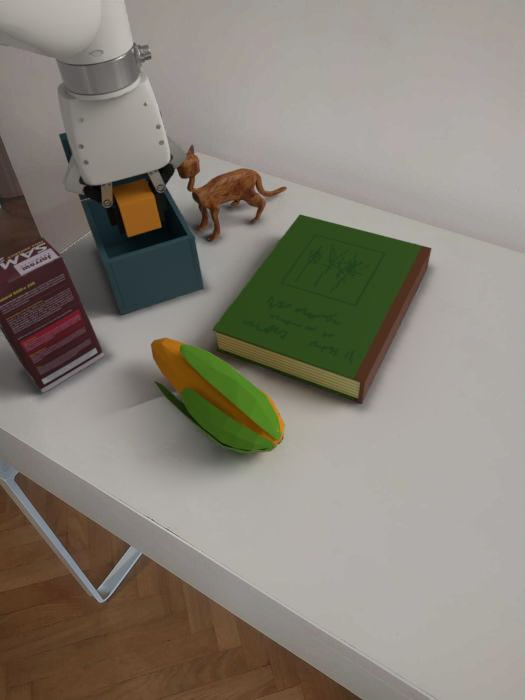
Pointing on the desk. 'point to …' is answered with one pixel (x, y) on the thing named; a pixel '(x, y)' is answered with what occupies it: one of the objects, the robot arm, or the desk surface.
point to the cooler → (146, 258)
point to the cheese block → (137, 207)
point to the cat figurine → (223, 191)
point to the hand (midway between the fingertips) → (139, 220)
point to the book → (325, 305)
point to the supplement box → (45, 315)
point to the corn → (218, 398)
